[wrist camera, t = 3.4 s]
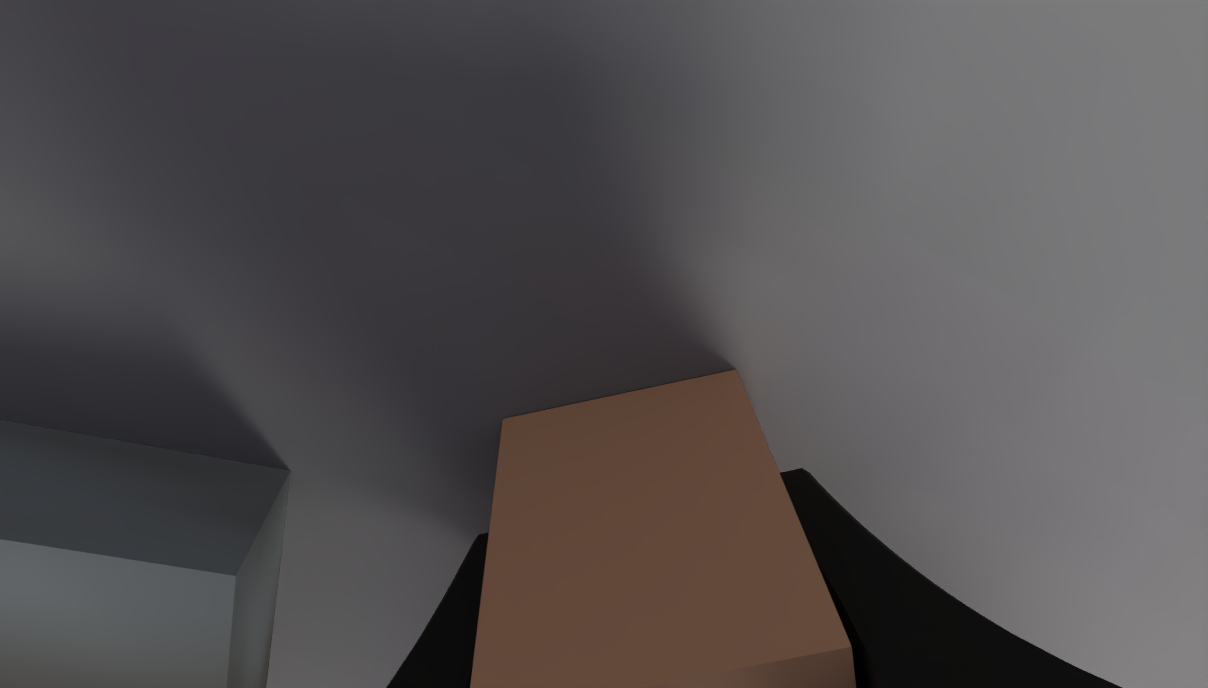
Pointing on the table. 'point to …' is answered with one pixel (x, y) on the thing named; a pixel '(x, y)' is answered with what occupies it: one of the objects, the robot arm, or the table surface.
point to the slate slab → (134, 564)
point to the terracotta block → (651, 552)
